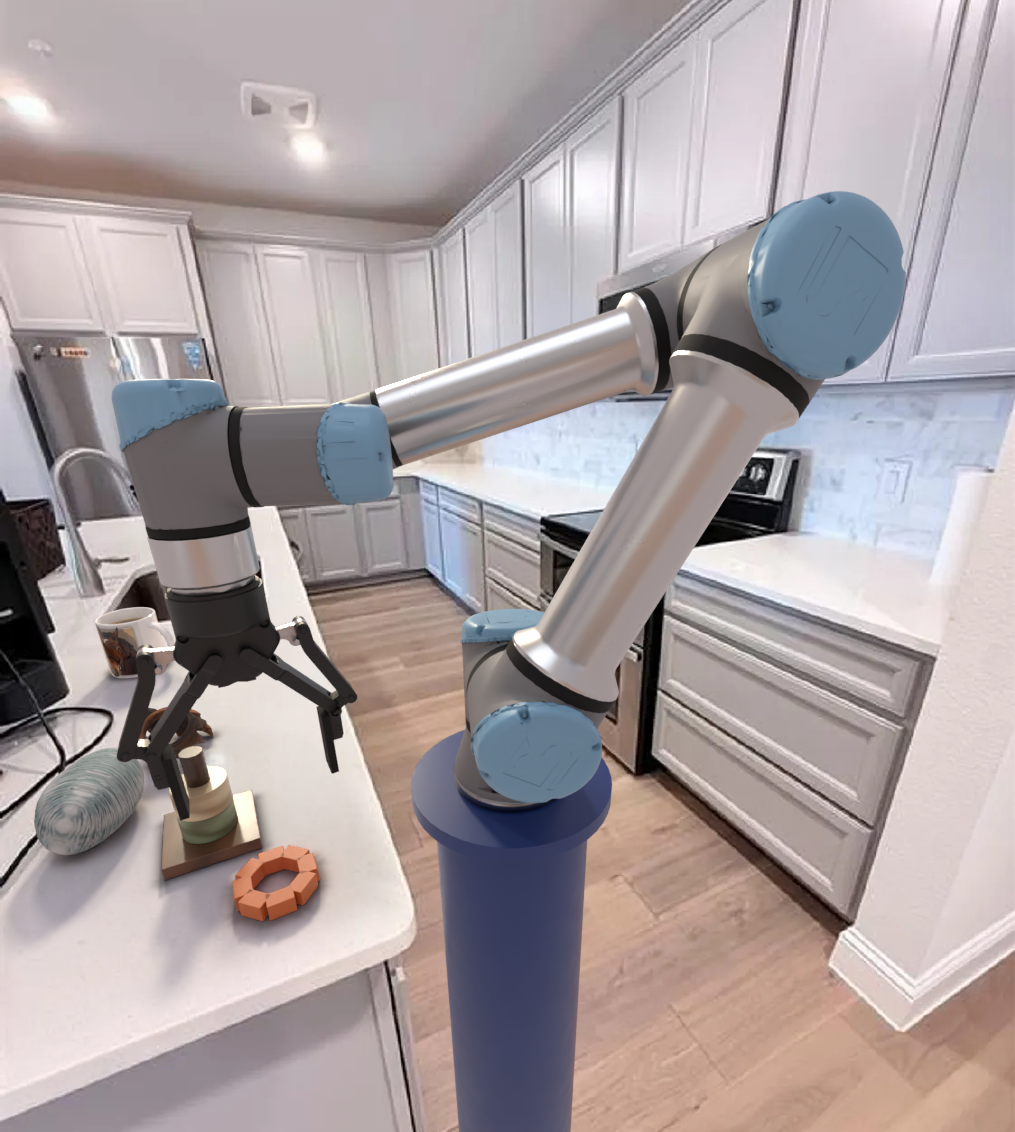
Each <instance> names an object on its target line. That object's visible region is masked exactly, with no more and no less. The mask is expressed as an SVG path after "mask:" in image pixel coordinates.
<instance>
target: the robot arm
mask: <svg viewBox="0 0 1015 1132" xmlns="http://www.w3.org/2000/svg"><path fill="white" fill-rule="evenodd" d="M903 256H904V247H903V244H902V240H901V237H900V235H899V232H898V230H897V227H896V226H895V224H894V223H893V221H892V220H891V217H890V216H889V215H888V214H887V213H886V212H885V211H884V210H883V209H882V207H881V206H879V205H878V204H877V203H876V202H875V201H873V200H871V199H870V198H868V197H866V196H864V195H862V194H859V193H856V192H853V191H844V190H838V191H837V190H836V191H827V192H823V193H819V194H816V195H813V196H811V197H808V198H806V199H800V200H797V201H793V202H790V203H789V204H786V205H783V206H782V207H781V208H779V209H778V210H777V211H775V213H773V214H772V215H771V216H769V218H768V219H766V220H765V221H763V222H761V223H759V224H756V225H755V226H753V227H751V228H749V229H747V230H746V231H744V232H741V233H740V234H738V235H736V236H735V237H732V238H731V239H728V240H726V241H725V242H723V243H721V244H719V245H717V246H715V247H714V248H712V249H710V250H708V251H707V252H705V253H704V254H702V255H701V256H699V257H698V258H696V259H694V260H693V261H691V262H690V263H688V264H687V265H684V266H683V267H681V268H680V269H678V270H676V271H675V272H673V273H671V274H668V275H667V276H665V277H663V278H661V279H660V280H657V281H656V282H654V283H651V284H649V285H646V286H644V287H640V288H639V289H635V290H631V291H629V292H626V293H625V294H624V295H622V297H621V299H620V301H619V302H618V304H617V306H616V308H615V309H612V310H608V311H606V312H603V313H600V314H597V315H594V316H592V317H588V318H584V319H582V320H579V321H576V322H573V323H569V324H567V325H563V326H561V327H558V328H555V329H553V330H550V331H546V332H544V333H540V334H537V335H535V336H532V337H529V338H525V339H523V340H519V341H517V342H513V343H510V344H508V345H505V346H501V347H499V348H496V349H492V350H490V351H487V352H484V353H481V354H477V355H475V356H472V357H469V358H466V359H463V360H460V361H456V362H453V363H451V364H448V365H445V366H442V367H439V368H436V369H433V370H430V371H426V372H424V373H421V374H418V375H415V376H411V377H410V378H406V379H403V380H401V381H398V382H395V383H391V384H389V385H386V386H382V387H378V388H377V389H374V390H371V391H368V392H364V393H360V394H358V395H354V396H352V397H349V398H346V399H343V400H340V401H337V402H333V403H326V404H325V403H323V404H322V403H321V404H300V405H299V404H297V405H295V404H294V405H277V406H260V407H257V406H255V407H248V406H238V405H230V404H229V401H228V400H227V399H226V396H225V391H224V389H223V387H222V386H221V384H220V383H218V382H217V381H215V380H212V379H205V378H170V379H169V378H168V379H167V378H145V379H144V378H139V379H138V378H137V379H128V380H123V381H121V382H119V383H118V384H116V385H115V386H114V387H113V389H112V392H111V404H112V408H113V412H114V416H115V420H116V427H117V431H118V436H119V441H120V444H119V450H120V452H121V453H123V455H124V459H125V462H126V465H127V470H128V472H129V475H130V479H131V482H132V486H133V488H134V492H135V495H136V498H137V503H138V505H139V508H140V512H141V515H142V518H143V522H144V527H145V532H146V535H147V536H146V538H147V542H148V545H149V550H150V552H151V556H152V559H153V562H154V567H155V570H156V573H157V576H158V581H159V583H160V585H161V586H164V587H165V588H166V591H165V593H164V594H163V598H164V601H165V606H166V609H167V612H168V616H169V619H170V624H171V626H172V630H173V634H174V638H175V639H174V642H175V644H174V646H172V647H168V646H165V647H161V648H153V647H152V646H151V645H148V644H144V645H141V646H140V647H139V648H138V651H137V656H136V668H137V674H138V677H137V681H136V683H135V686H134V690H133V694H132V697H131V701H130V704H129V708H128V711H127V713H126V718H125V721H124V725H123V728H122V731H121V734H120V738H119V742H118V746H117V749H118V751H117V759H118V760H119V761H120V762H128V761H130V760H132V759H138V760H139V761H140V760H142V761H144V763H146V765H147V768H148V771H149V774H150V777H151V780H152V783H153V787H154V788H155V789H157V790H158V791H161V790H165V789H169V787H170V790H171V793H172V796H173V799H174V802H175V805H176V808H177V812H178V815H179V818H180V821H181V820H184V819H188V818H190V809H189V798H188V795H187V792H186V788H185V785H184V782H183V779H182V773H181V770H180V766H179V763H178V758H177V759H176V756H175V753H174V749H173V746H172V744H170V743H171V741H172V739H173V738H174V736H175V735H176V731H177V730H178V728H179V727H180V725H181V724H182V722H183V721H184V719H185V718H186V716H187V714H188V713H189V711H190V710H191V709H192V708H193V707H194V705H195V704H196V703H197V701H198V700H199V699H200V698H201V697H202V695H203V694H204V692H205V691H206V689H207V688H208V686H214V687H217V688H218V689H220V688H226V687H229V686H232V685H233V684H235V683H242V682H243V683H246V682H251V681H256V680H257V678H258V677H260V676H261V675H262V674H265V675H266V676H268V677H269V678H271V679H273V681H276V682H277V681H278V682H280V683H281V684H283V685H285V686H286V687H287V688H288V687H289V689H291V690H293V691H294V692H296V693H297V694H299V695H301V696H302V697H304V698H305V699H307V700H308V701H310V702H312V703H313V704H314V705H316V712H317V718H318V723H319V729H320V735H321V739H322V745H323V751H324V757H325V761H326V763H327V766H328V768H329V771H330V773H331V775H332V774H336V773H339V772H340V769H339V768H340V767H339V762H338V757H337V752H336V745H335V740H339V739H343V738H344V727H343V726H344V725H343V720H342V713H343V707H344V706H346V705H348V704H354V703H355V702H356V701H357V700H358V694H357V692H356V691H355V689H354V688H353V685H351V682H349V680H348V679H346V677H345V676H344V675H343V674H342V672H341V671H340V670H339V669H338V667H336V665H335V664H334V663H333V661H332V660H331V659H330V658H329V657H328V655H327V654H326V653H325V652H324V651H323V650H322V649H321V647H320V645H318V643H317V642H316V641H315V640H314V637H313V634H312V630H311V627H310V626H309V624H308V622H307V620H306V619H305V618H304V616H302V615H296V616H294V617H293V618H292V621H290V622H288V623H284V624H281V625H277V626H275V625H274V624H273V622H272V620H271V617H270V612H269V611H270V610H269V607H268V602H267V596H266V591H265V587H264V583H263V579H262V578H260V577H259V576H258V575H256V574H257V573H259V572H260V569H261V568H260V563H259V562H260V561H259V557H258V552H257V548H256V542H255V539H254V537H255V536H254V533H253V529H252V524H251V518H250V515H249V508H264V507H281V506H284V507H285V506H286V507H287V506H313V505H343V504H344V505H345V506H355V505H357V504H359V503H360V504H361V503H368V502H378V501H379V502H380V501H384V500H387V498H389V497H390V496H391V494H392V492H393V488H394V470H395V469H398V468H401V467H402V466H405V465H409V464H412V463H414V462H417V461H422V460H423V459H427V458H429V457H433V456H435V455H439V454H441V453H445V452H448V451H451V450H454V449H457V448H460V447H462V446H466V445H469V444H471V443H472V444H473V443H475V442H478V441H482V440H484V439H487V438H491V437H494V436H497V435H500V434H502V433H506V432H508V431H511V430H514V429H517V428H521V427H523V426H527V425H529V424H534V423H536V422H539V421H542V420H545V419H548V418H551V417H553V416H557V415H560V414H563V413H566V412H569V411H573V410H575V409H579V408H581V407H584V406H587V405H591V404H594V403H597V402H599V401H603V400H605V399H608V398H609V399H610V398H612V397H614V396H617V395H620V394H624V393H626V392H630V391H633V392H635V393H637V394H639V395H640V396H643V397H646V396H650V395H653V394H655V393H659V392H662V391H666V390H669V389H670V390H671V389H672V390H671V391H670V393H669V396H668V397H667V399H666V401H665V402H664V405H663V406H662V408H661V409H660V410H659V413H658V415H657V416H656V418H655V420H654V422H653V424H652V425H651V427H650V428H649V430H648V432H647V433H646V435H645V437H644V438H643V441H642V442H641V444H640V446H639V448H638V449H637V451H636V453H635V455H634V457H633V458H632V460H631V461H630V463H629V465H628V466H627V468H626V470H625V472H624V473H623V475H622V477H621V479H620V480H619V482H618V484H617V486H616V488H615V490H614V491H613V493H612V495H611V497H610V498H609V500H608V502H607V503H606V505H605V507H604V508H603V510H602V512H601V514H600V515H599V517H598V519H597V521H596V522H595V524H594V525H593V527H592V529H591V531H590V533H589V534H588V536H587V538H586V539H585V541H584V543H583V544H582V546H581V549H580V550H579V552H578V553H577V555H576V557H575V559H574V561H573V562H572V564H571V566H570V567H569V569H568V571H567V573H566V575H564V578H563V580H562V581H561V583H560V585H559V587H558V589H557V590H556V592H555V593H554V596H553V597H552V599H551V600H550V602H549V604H548V606H547V608H546V609H545V611H541V610H536V609H528V608H502V609H493V610H485V611H481V612H478V613H475V614H473V615H471V616H468V618H466V619H464V620H465V621H464V622H463V623H462V626H461V638H460V640H459V642H460V644H461V650H462V669H463V670H462V672H463V673H462V674H463V675H462V676H463V693H464V694H463V696H464V697H463V698H464V716H465V717H464V719H465V729H464V730H465V731H464V734H463V737H462V740H461V743H460V747H459V750H458V753H457V756H456V759H455V763H454V779H455V785H456V787H457V789H458V791H459V793H460V794H461V795H462V796H463V797H464V798H465V799H466V800H468V801H469V802H470V803H472V804H474V805H476V806H478V807H480V808H483V809H486V810H490V811H494V812H500V813H521V812H528V811H532V810H536V809H539V808H542V807H544V806H546V805H548V804H550V803H552V802H553V801H555V800H556V799H561V798H564V797H566V796H568V795H571V794H572V793H574V792H576V791H577V790H579V789H580V788H582V787H583V786H584V785H585V784H586V783H587V782H588V781H589V780H590V779H591V778H592V777H593V775H594V774H595V772H596V771H597V769H598V767H599V764H600V761H601V757H602V756H603V739H602V737H601V731H599V730H598V728H600V726H601V724H602V722H603V720H604V719H605V717H606V716H607V715H608V713H609V712H610V710H611V708H612V707H613V705H614V704H615V702H616V701H617V699H618V698H619V694H620V690H619V686H618V683H617V679H616V670H617V668H618V667H619V665H620V664H621V662H622V661H623V659H624V658H625V656H626V654H627V653H628V651H629V650H630V648H631V647H632V645H633V644H634V642H635V641H636V639H637V637H638V636H639V634H640V632H641V631H642V630H643V628H644V626H645V625H646V623H647V622H648V620H649V619H650V617H651V615H652V614H653V612H654V610H655V609H656V608H657V606H658V604H659V603H660V601H661V600H662V598H663V597H664V595H665V593H666V592H667V590H668V589H669V587H670V586H671V584H672V582H673V581H674V579H675V578H676V577H677V575H678V573H679V572H680V570H681V568H682V567H683V566H684V564H685V562H686V560H687V559H688V558H689V556H690V555H691V553H692V551H693V550H694V548H695V547H696V545H697V543H698V542H699V540H700V539H701V537H702V536H703V534H704V533H705V531H706V529H707V528H708V526H709V525H710V523H711V521H712V520H713V518H715V515H717V512H718V511H719V509H720V507H721V506H722V504H723V502H724V501H725V499H726V498H727V496H729V493H730V492H731V490H732V488H733V487H734V486H735V484H736V482H737V481H738V479H739V478H740V476H741V475H742V473H743V471H745V469H746V467H747V465H748V463H749V462H750V460H751V459H752V457H753V456H754V454H755V453H756V451H757V450H758V448H759V447H760V445H761V443H762V442H763V441H764V439H765V438H766V437H767V436H768V435H770V434H773V433H776V432H779V431H782V430H785V429H788V428H792V427H795V425H796V424H797V423H798V421H799V419H800V418H801V416H802V415H803V414H804V412H805V410H806V409H807V407H808V406H809V405H810V403H811V402H812V400H813V398H814V397H815V396H816V394H817V392H818V391H819V389H820V388H821V386H822V385H823V383H824V382H825V380H827V379H833V378H834V379H835V378H837V377H842V376H844V375H845V374H847V373H849V372H850V371H853V370H854V369H856V368H858V367H860V366H861V365H863V364H864V363H865V362H866V361H867V360H869V359H870V358H871V357H872V356H873V355H874V354H875V353H876V352H877V351H878V350H879V349H880V348H881V346H882V345H883V344H884V342H885V341H886V340H887V338H888V336H889V335H890V333H891V332H892V329H893V327H894V325H895V324H896V321H897V318H898V316H899V313H900V311H901V307H902V304H903V300H904V294H905V288H906V277H907V274H906V271H905V269H904V268H903V262H902V261H903ZM281 640H286V641H288V643H289V644H290V646H293V647H298V646H300V647H301V649H302V651H303V653H304V654H305V655H306V656H307V658H308V659H309V660H310V662H312V663H313V665H314V666H315V667H316V668H317V670H318V671H319V672H320V673H321V674H322V675H323V676H324V678H325V679H326V680H327V681H328V682H329V683H330V685H331V686H332V687H333V688H334V689H335V690H334V691H333V692H331V691H329V690H328V689H327V688H325V687H324V686H322V685H320V684H319V683H317V682H316V681H314V680H313V679H311V677H308V676H307V675H305V674H304V673H302V671H300V670H298V669H297V668H295V667H293V666H292V665H291V664H289V663H287V662H286V661H285V660H283V658H281V657H280V656H279V655H277V654H276V653H275V652H276V650H277V648H278V646H279V645H280V642H281ZM172 662H176V663H177V664H178V665H179V666H180V667H182V668H184V669H185V670H186V671H188V672H187V674H185V677H184V680H183V681H182V684H181V685H180V687H178V690H177V691H176V692H175V694H174V695H173V698H172V699H171V700H170V702H169V704H168V705H167V706H166V707H167V708H166V710H165V712H164V713H163V715H162V716H161V718H160V719H159V721H158V722H157V724H156V725H155V727H154V729H153V730H152V732H151V733H149V735H146V739H139V737H140V734H141V731H142V727H143V724H144V721H145V717H146V714H147V711H148V708H150V703H151V700H152V697H153V694H154V691H155V687H156V681H157V680H156V678H157V675H162V674H164V673H165V672H166V671H167V667H168V665H169V664H170V663H172ZM602 758H603V757H602Z"/></svg>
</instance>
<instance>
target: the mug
mask: <svg viewBox="0 0 1015 1132" xmlns="http://www.w3.org/2000/svg"><path fill="white" fill-rule="evenodd" d="M94 625H95V628H96V631H97V634H98V637H99V640H100V641H99V642H100V644H101V647H102V650H103V653H104V656H105V659H106V663H107V666H108V669H109V673H110V675H111V676H112V677H114V678H117V679H135V678H138V674H137V668H136V656H137V651H138V648H139V647H140V646H141V645H144V644H148V645H151V646H152V647H153V648H161V647H172V646H174V644H175V639H174V637H173V635H172V633H171V632H170V631H169V629H168V628H167V627H166V626H165V625H163V624H162V623H160V622H159V620H158V616H157V613H156V610H155V609H154V608H152V607H146V606H145V607H144V606H136V607H126V608H120V609H116V610H113V611H109V612H106V613H104V614H102V615H99V616H98V617H96V618H95V620H94ZM164 640H165V641H164ZM165 642H166V645H167V646H166V645H165Z"/></svg>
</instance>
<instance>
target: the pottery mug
mask: <svg viewBox="0 0 1015 1132" xmlns="http://www.w3.org/2000/svg"><path fill="white" fill-rule="evenodd" d="M167 707H168V706H165V707H162V708H158V709H156V708H152V707H148V711H147V714H146V717H145V721H144V724H143V727H142V731H141V734H140V737H139V739H146V736H147V732H148V733H149V734H150V733H151V732H152V730H153V729H154V727H155V725H156V724H157V722H158V721H159V719H160V718H161V716H162V715H163V713H164V712H165V710H166V708H167ZM199 732H203V733H205V734H206V735H209V737H214V733H213V729H212V727H211V726H210V725H209V724H208V723H207V720H206V719H203V718H202V716H201V712H200V711H197V710H195V709H192V708H191V710H190V711H189V713H188V714H187V716H186V718H185V719H184V721H183V722H182V724H181V725H180V727H179V728H178V730H177V731H176V733H175V735H176V736H177V737H178V738H177V739H176V740H174V741H173V742H169V744H172V746H173V749H174V753H175V756H176V759H177V760H178V759H179V756H178V754H179V753H180V752H181V751H182V750H183V749H185V748H188V747H192V746H197V745H198V744H201V743H203V742H205V740H204V738H203V737H202V736H201V735H200V734H199Z"/></svg>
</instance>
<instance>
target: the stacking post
mask: <svg viewBox="0 0 1015 1132" xmlns="http://www.w3.org/2000/svg"><path fill="white" fill-rule="evenodd" d="M203 749H204V748H203V747H201V746H200V745H194V746H192V747H188V748H185V749H183V750H182V751H181V752H180V753H179V754H178V756H179V758H178V759H179V763H180V766H181V771H182V773H181V775H182V779H183V782H184V785H185V788H186V792H187V795H188V798H189V809H190V818H188V819H184V820H181V821H180V818H179V815H178V812H177V808H176V805H175V802H174V799H173V796H172V793H171V790H170V787H168V794H169V797H170V800H171V801H170V802H171V804H172V807H173V810H174V811H173V812H170V813H169V812H168V813H166V814H163V824H162V825H163V826H162V845H161V864H160V865H161V866H160V871H161V874H162V877H163V880H164V881H167V880H170V879H173V878H176V877H179V876H182V875H186V874H188V873H191V872H193V871H197V870H200V869H203V868H205V867H209V866H212V865H214V864H217V863H221V862H223V861H226V860H231V859H233V858H236V857H239V856H241V855H245V854H247V853H250V852H251V853H252V852H254V851H257V850H259V849H260V850H261V849H263V842H262V836H261V831H260V824H259V820H258V814H257V809H256V802H255V798H254V794H253V789H249V790H245V791H242V792H239V793H235V794H233V792H232V787H231V783H230V780H229V779H230V778H229V776H228V775H229V774H228V772H227V770H226V769H225V768H223V767H221V766H217V765H207V761H206V757H205V752H204V750H203Z"/></svg>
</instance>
